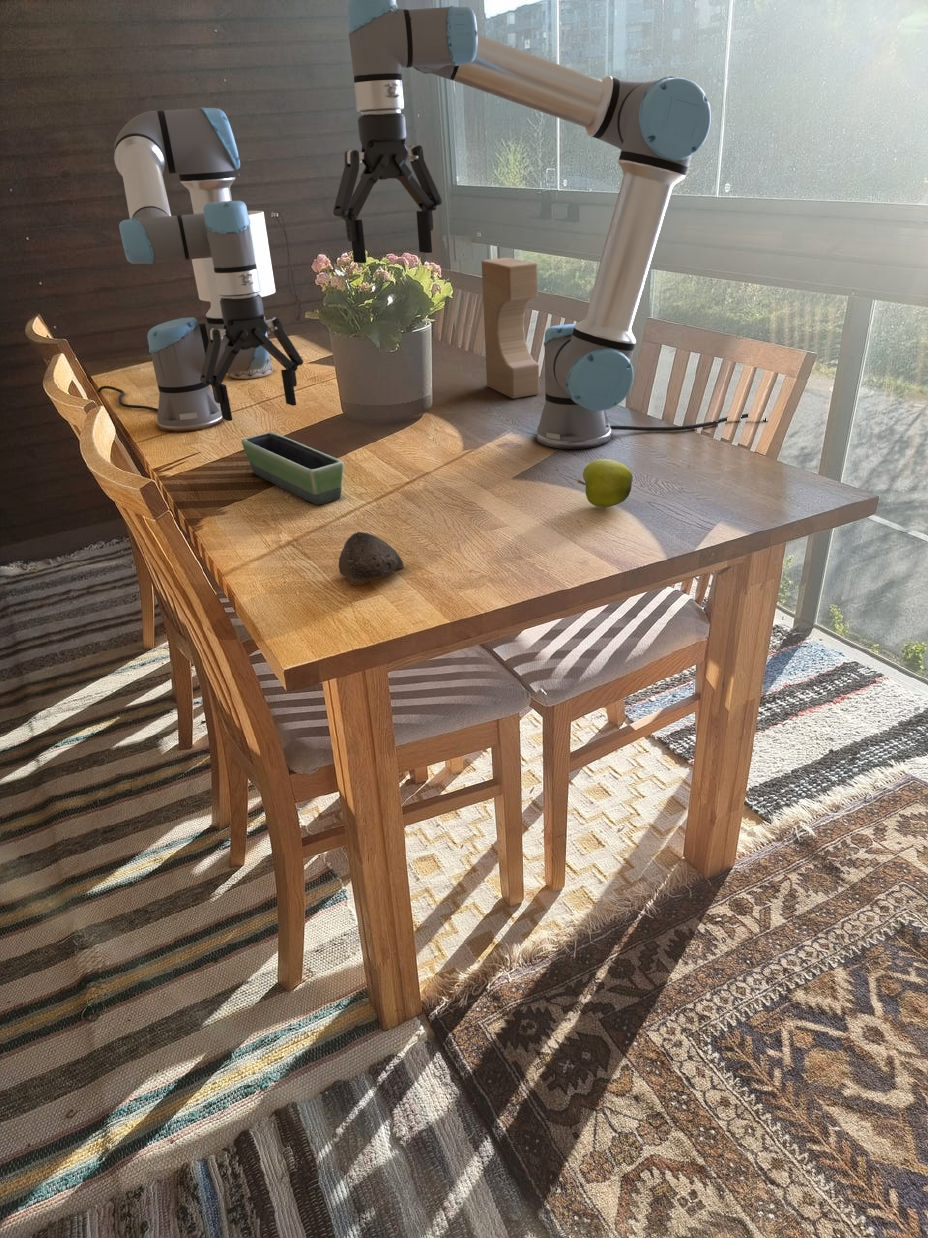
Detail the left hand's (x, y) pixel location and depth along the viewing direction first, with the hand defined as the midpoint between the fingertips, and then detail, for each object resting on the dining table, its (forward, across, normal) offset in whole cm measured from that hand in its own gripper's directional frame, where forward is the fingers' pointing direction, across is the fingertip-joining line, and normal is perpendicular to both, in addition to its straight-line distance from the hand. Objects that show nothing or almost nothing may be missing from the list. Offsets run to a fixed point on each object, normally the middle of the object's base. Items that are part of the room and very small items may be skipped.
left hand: (260, 411), depth 170 cm
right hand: (-27, +18, -24) cm, 40 cm away
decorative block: (+12, +72, +9) cm, 74 cm away
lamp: (+11, +37, +82) cm, 91 cm away
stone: (+13, -12, -54) cm, 57 cm away
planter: (+13, 0, -10) cm, 16 cm away
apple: (+13, +32, -60) cm, 69 cm away
